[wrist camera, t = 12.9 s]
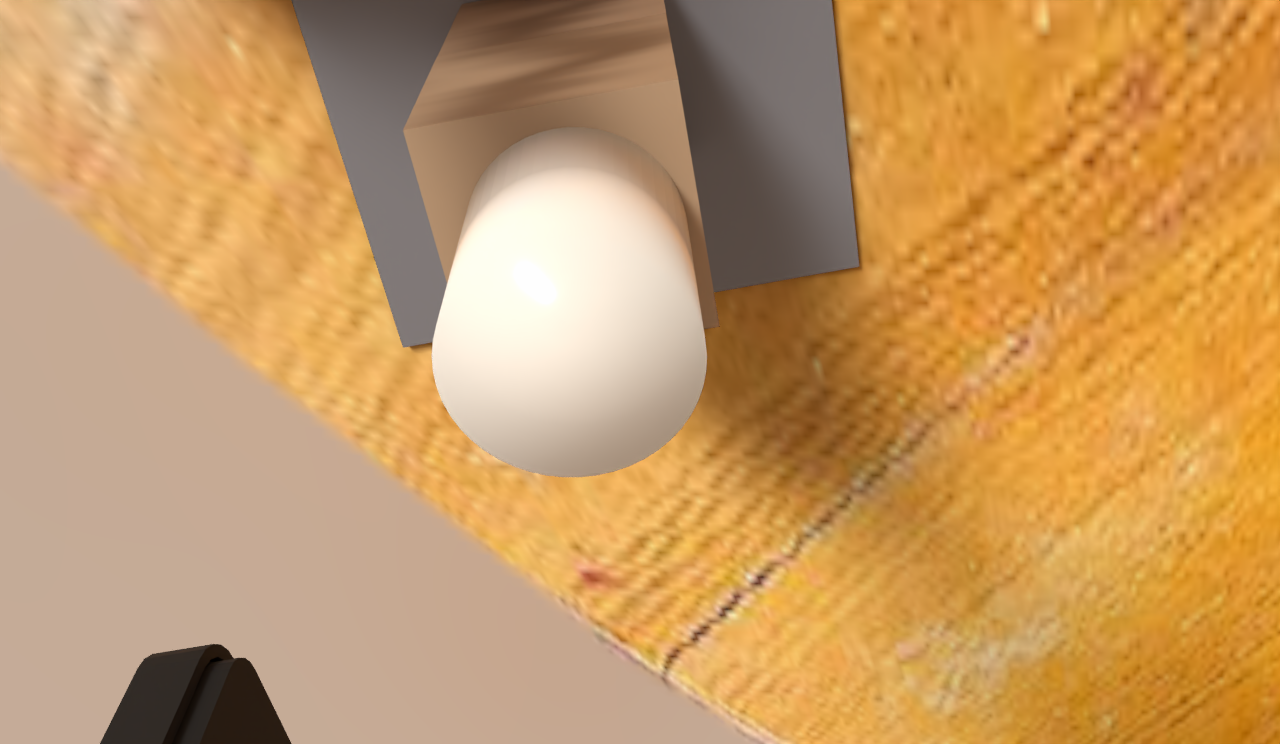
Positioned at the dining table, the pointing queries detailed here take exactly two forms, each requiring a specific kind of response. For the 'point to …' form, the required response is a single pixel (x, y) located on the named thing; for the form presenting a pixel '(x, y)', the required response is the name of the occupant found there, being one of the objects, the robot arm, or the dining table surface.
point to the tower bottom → (536, 19)
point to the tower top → (552, 117)
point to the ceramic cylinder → (572, 308)
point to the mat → (714, 115)
